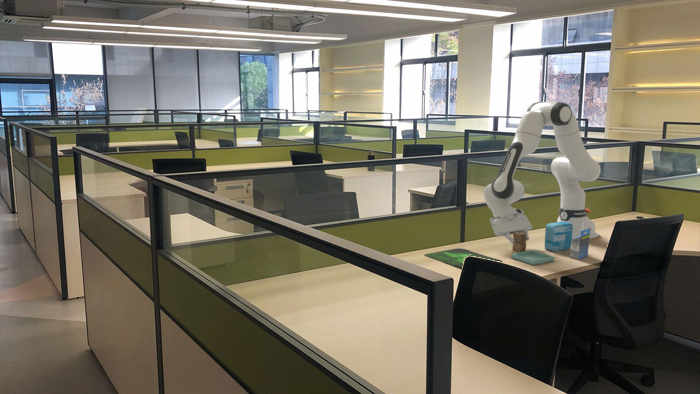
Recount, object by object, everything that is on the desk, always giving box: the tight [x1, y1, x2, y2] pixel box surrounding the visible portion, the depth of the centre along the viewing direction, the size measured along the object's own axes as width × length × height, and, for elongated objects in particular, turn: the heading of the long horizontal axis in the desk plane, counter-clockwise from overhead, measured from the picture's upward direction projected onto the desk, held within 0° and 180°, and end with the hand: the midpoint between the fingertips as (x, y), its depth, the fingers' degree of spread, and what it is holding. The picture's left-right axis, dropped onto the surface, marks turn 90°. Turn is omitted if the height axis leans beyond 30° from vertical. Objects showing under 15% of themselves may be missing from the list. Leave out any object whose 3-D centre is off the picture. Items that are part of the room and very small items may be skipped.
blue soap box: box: [544, 221, 573, 253], centre depth 255 cm, size 12×4×12 cm, turn 116°
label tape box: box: [570, 228, 590, 260], centre depth 243 cm, size 9×4×12 cm, turn 133°
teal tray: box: [511, 249, 555, 266], centre depth 239 cm, size 12×12×2 cm
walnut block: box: [511, 232, 527, 253], centre depth 253 cm, size 4×4×8 cm
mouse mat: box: [423, 247, 503, 270], centre depth 242 cm, size 27×22×1 cm
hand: (520, 241), depth 252 cm, fingers open, 7 cm apart
